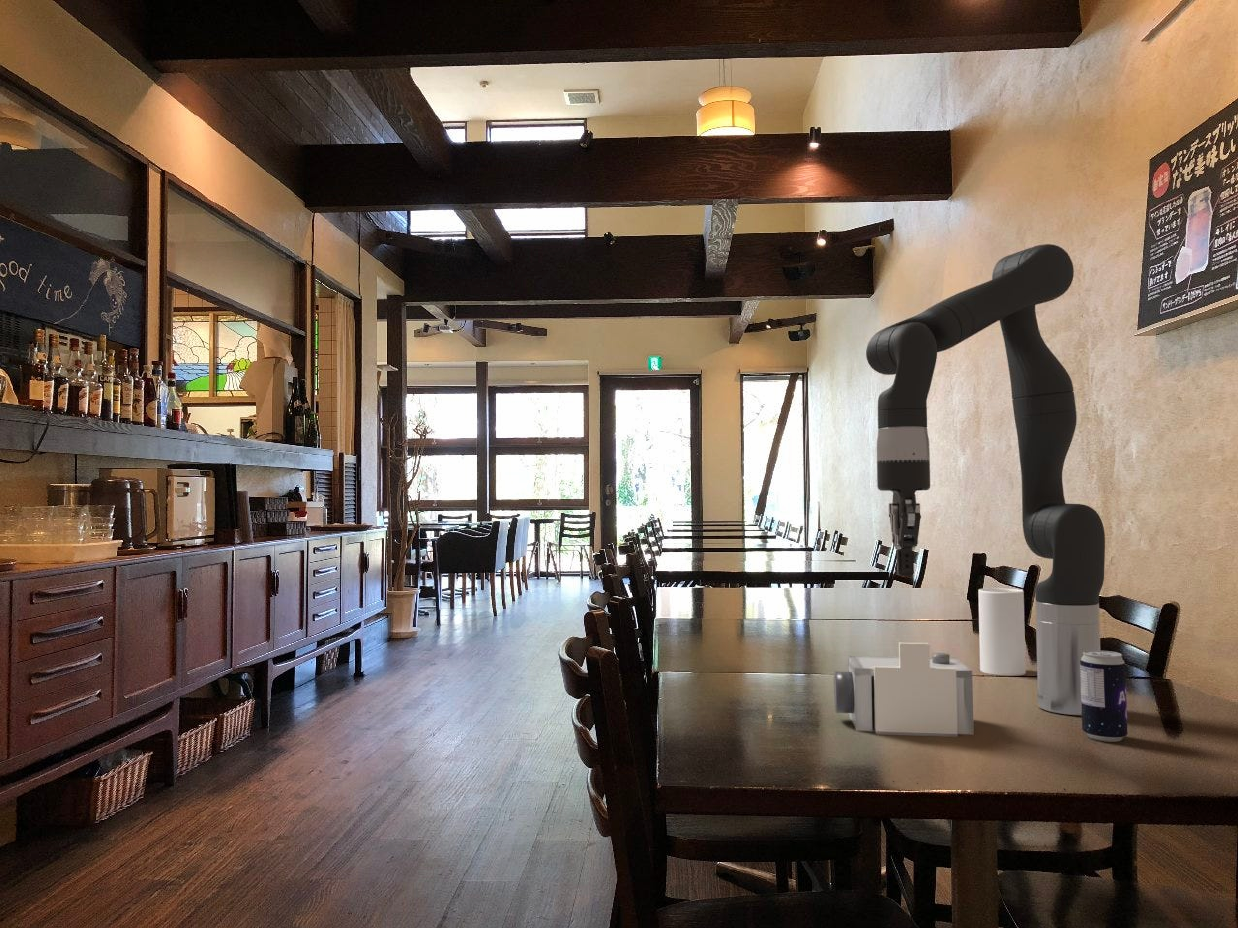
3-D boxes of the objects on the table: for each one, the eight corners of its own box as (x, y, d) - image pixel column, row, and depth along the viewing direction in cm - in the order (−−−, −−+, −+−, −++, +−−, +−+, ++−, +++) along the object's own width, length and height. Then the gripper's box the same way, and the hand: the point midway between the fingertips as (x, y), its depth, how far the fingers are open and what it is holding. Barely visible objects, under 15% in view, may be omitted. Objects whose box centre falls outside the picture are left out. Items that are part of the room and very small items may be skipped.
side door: (955, 738, 123) (953, 643, 124) (957, 740, 122) (955, 644, 122) (874, 735, 125) (873, 641, 125) (876, 738, 123) (874, 643, 124)
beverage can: (1126, 745, 121) (1124, 658, 122) (1080, 739, 124) (1078, 654, 125) (1128, 735, 126) (1125, 651, 126) (1084, 730, 129) (1081, 648, 129)
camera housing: (957, 724, 133) (955, 650, 133) (973, 742, 123) (972, 662, 123) (833, 720, 136) (831, 647, 136) (839, 738, 126) (838, 659, 126)
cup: (1028, 670, 174) (1026, 589, 175) (1022, 677, 167) (1020, 593, 168) (984, 666, 178) (982, 587, 179) (976, 673, 171) (974, 590, 172)
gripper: (938, 456, 124) (941, 579, 123) (920, 460, 137) (923, 571, 136) (883, 457, 125) (885, 579, 124) (871, 461, 138) (873, 571, 137)
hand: (905, 575), depth 130 cm, fingers closed
